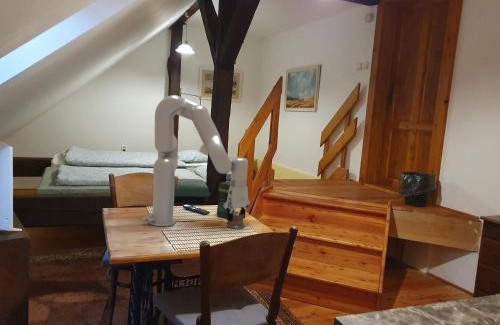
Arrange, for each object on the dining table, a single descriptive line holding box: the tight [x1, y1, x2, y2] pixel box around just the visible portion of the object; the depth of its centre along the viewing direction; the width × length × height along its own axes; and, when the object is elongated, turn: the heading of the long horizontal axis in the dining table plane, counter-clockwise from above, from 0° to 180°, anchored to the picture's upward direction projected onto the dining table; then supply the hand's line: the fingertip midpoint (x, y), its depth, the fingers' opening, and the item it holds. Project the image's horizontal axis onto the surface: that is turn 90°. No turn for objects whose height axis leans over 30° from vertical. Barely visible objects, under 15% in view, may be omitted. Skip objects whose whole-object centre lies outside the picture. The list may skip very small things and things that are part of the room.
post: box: [225, 210, 246, 230], centre depth 172 cm, size 9×9×7 cm
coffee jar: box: [216, 180, 235, 219], centre depth 188 cm, size 10×8×19 cm
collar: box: [227, 211, 244, 227], centre depth 172 cm, size 7×7×5 cm
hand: (235, 219), depth 172 cm, fingers open, 8 cm apart
